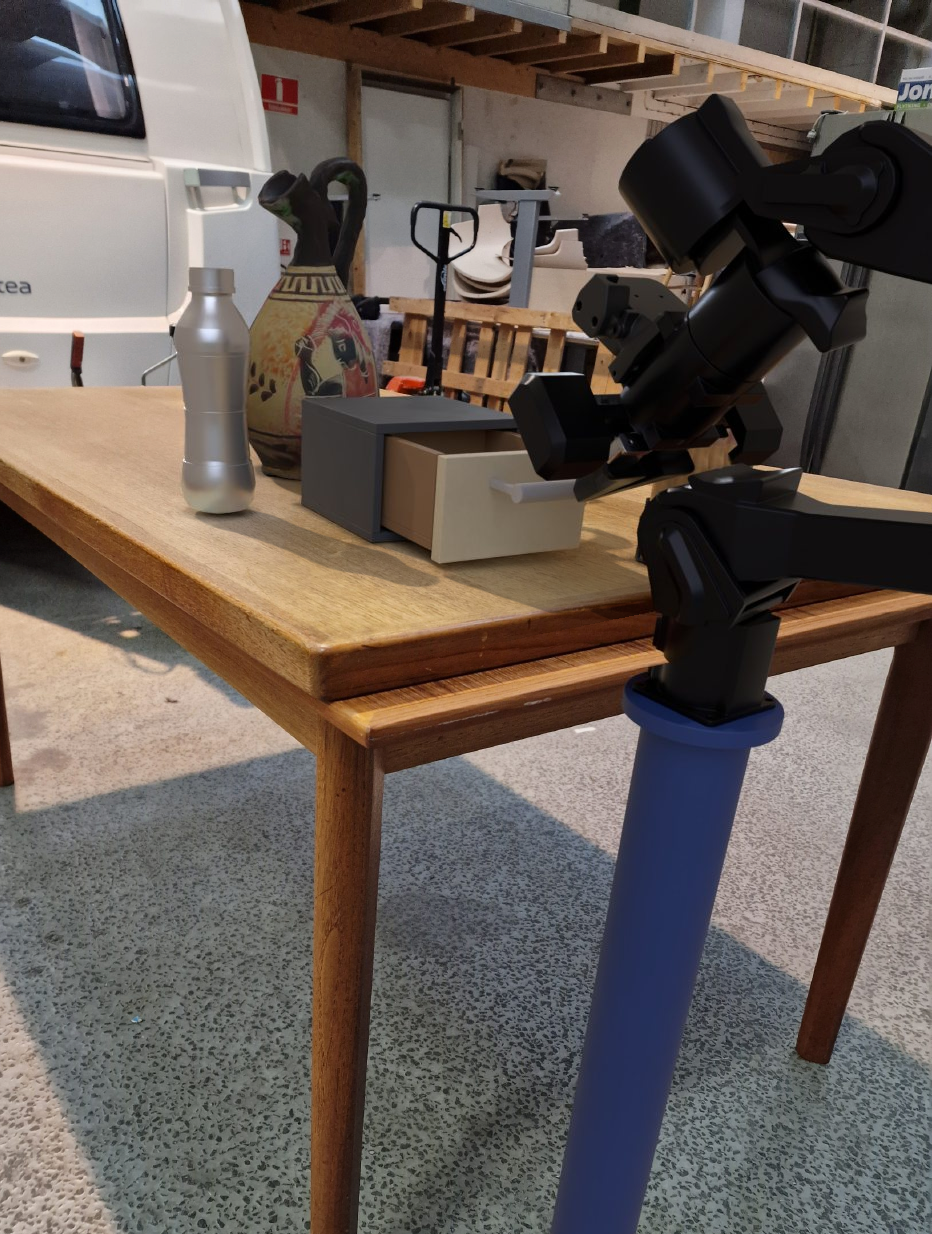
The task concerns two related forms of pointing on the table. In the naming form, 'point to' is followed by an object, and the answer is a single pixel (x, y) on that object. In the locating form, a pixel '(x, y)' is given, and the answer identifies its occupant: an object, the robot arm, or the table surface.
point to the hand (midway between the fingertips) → (579, 496)
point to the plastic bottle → (214, 395)
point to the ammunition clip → (697, 467)
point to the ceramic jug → (308, 316)
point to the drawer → (474, 496)
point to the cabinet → (371, 450)
